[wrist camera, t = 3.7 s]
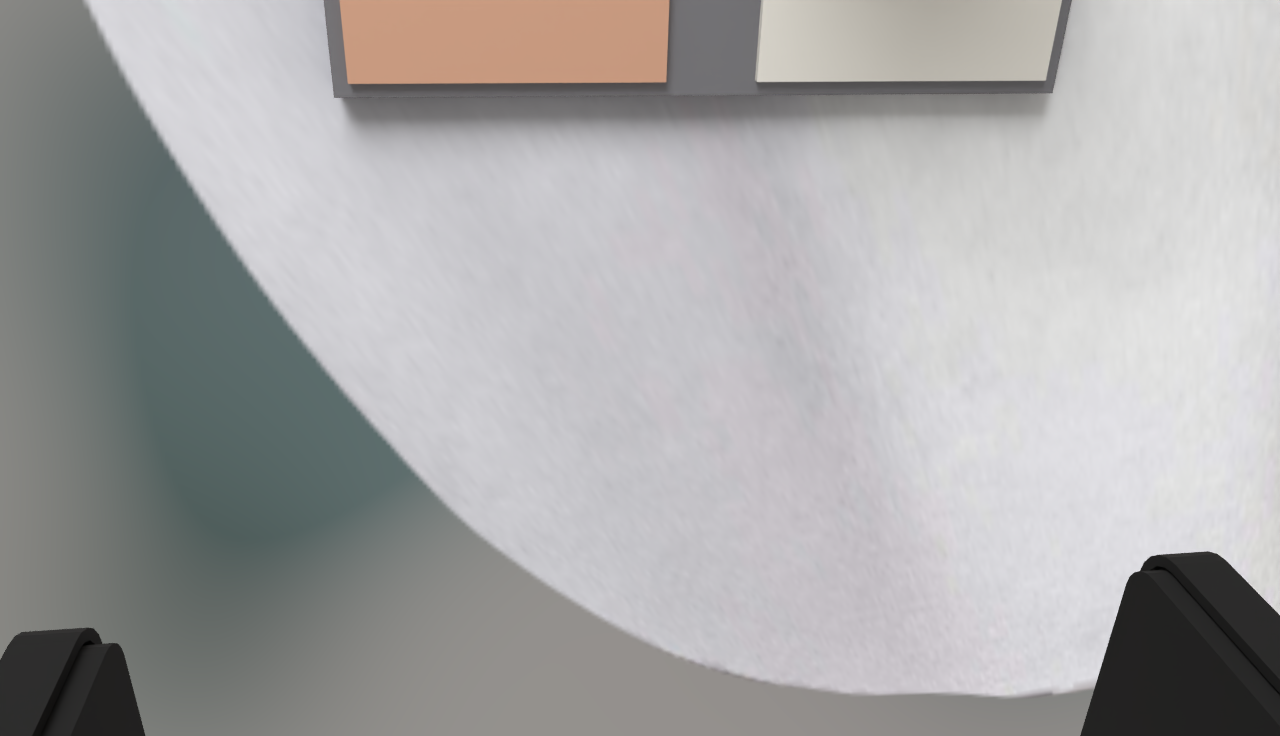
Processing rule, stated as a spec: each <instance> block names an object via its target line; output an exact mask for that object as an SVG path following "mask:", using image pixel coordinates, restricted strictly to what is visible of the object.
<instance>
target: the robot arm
mask: <svg viewBox="0 0 1280 736" xmlns="http://www.w3.org/2000/svg"><path fill="white" fill-rule="evenodd" d="M0 736H145V733H144V729H143V725H142V721H141V717H140V714H139V710H138V706H137V702H136V698H135V694H134V691H133V687H132V683H131V679H130V675H129V671H128V668H127V664H126V660H125V656H124V653H123V651H122V648H121V647H120V646H119V644H117V643H109V644H102V642H101V639H100V637H99V634H98V633H97V632H96V631H95V630H94V629H93V628H77V629H62V630H48V631H33V632H21V633H20V634H18V635H16V636H15V637H14V638H13V640H12V641H11V642H10V644H9V645H8V647H7V649H6V650H5V652H4V654H3V656H2V658H1V660H0ZM1080 736H1280V615H1279V614H1278V613H1277V612H1276V611H1275V610H1274V609H1273V608H1272V607H1271V606H1270V605H1269V604H1268V603H1267V602H1266V601H1265V600H1264V599H1263V598H1262V597H1261V596H1260V595H1259V594H1258V593H1257V592H1256V591H1255V590H1254V589H1253V588H1252V587H1251V586H1250V585H1249V584H1248V583H1247V582H1246V580H1245V579H1244V578H1243V577H1242V576H1241V575H1240V574H1239V573H1238V572H1237V571H1236V570H1235V569H1234V568H1233V567H1232V566H1231V565H1230V564H1229V563H1228V562H1227V561H1226V560H1224V559H1223V558H1222V557H1221V556H1219V555H1218V554H1215V553H1212V552H1194V553H1179V554H1165V555H1156V556H1151V557H1150V558H1149V559H1147V560H1146V561H1145V562H1144V564H1143V566H1142V568H1141V570H1140V571H1139V572H1134V573H1133V574H1132V575H1131V576H1130V577H1129V580H1128V582H1127V584H1126V587H1125V590H1124V594H1123V597H1122V600H1121V604H1120V607H1119V610H1118V614H1117V617H1116V620H1115V623H1114V627H1113V630H1112V633H1111V637H1110V640H1109V643H1108V646H1107V650H1106V653H1105V656H1104V660H1103V663H1102V666H1101V669H1100V673H1099V676H1098V679H1097V683H1096V686H1095V689H1094V693H1093V696H1092V699H1091V702H1090V706H1089V709H1088V712H1087V716H1086V719H1085V722H1084V726H1083V729H1082V732H1081V735H1080Z"/></svg>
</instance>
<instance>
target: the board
mask: <svg viewBox="0 0 1280 736" xmlns="http://www.w3.org/2000/svg"><path fill="white" fill-rule="evenodd" d="M1071 1H1072V0H324V7H325V17H326V26H327V35H328V45H329V54H330V64H331V73H332V82H333V92H334V98H367V97H524V96H681V95H838V94H995V93H1052V92H1053V88H1054V83H1055V78H1056V73H1057V68H1058V63H1059V59H1060V54H1061V49H1062V44H1063V39H1064V34H1065V30H1066V25H1067V20H1068V15H1069V10H1070V5H1071Z"/></svg>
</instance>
